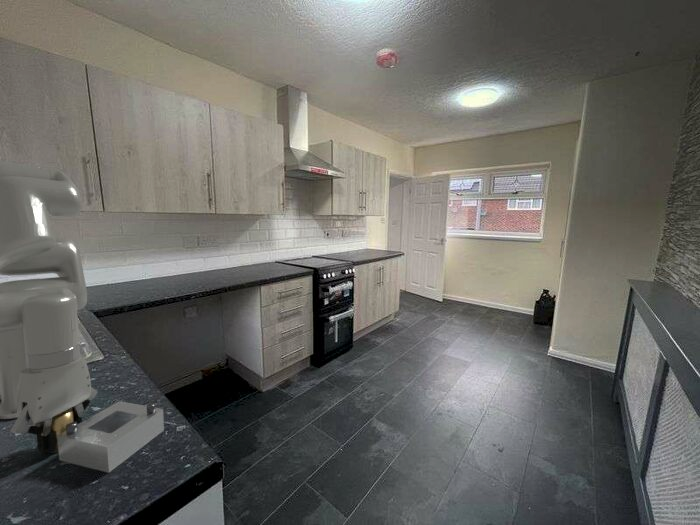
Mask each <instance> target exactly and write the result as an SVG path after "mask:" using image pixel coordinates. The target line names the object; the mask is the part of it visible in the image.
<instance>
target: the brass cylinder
mask: <svg viewBox="0 0 700 525" xmlns="http://www.w3.org/2000/svg"><path fill="white" fill-rule="evenodd" d="M71 422H74V418H73V409H72V408H70V409H68V410H66V411H64V412H62V413H60V414H58V415H56V416H54V417H52V423H51V430H50V432H54V436H55V448H56V450H55V451H54V452H52V453H51V454H55V453H59V451H58V440H57V436H58V435H60V434H61V433H63V432H65V431H66V425H67V424H69V423H71Z"/></svg>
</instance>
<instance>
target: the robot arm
mask: <svg viewBox="0 0 700 525" xmlns="http://www.w3.org/2000/svg"><path fill="white" fill-rule="evenodd" d="M82 207H83V200H82V196H81V193H80V191H79V188H78V187H77V186H76V185H75V183H74V182H73V180H71V179H70V177H69V176H68V175H67V174H66V173H65V172H63V171H62V170H59V169H55V168H51V167H45V166H38V165H29V164H24V163H18V162H10V161H2V160H0V275H1V276H9V277H10V276H14V277H15V276H28V275H29V276H30V275H42V274H56V275H57V277H45V278H33V279H32V278H29V279H19V280H16V279H15V280H9V281H6V282H5V281H4V282H0V399H1V402H0V420H10V419H16V420H15V422H14V424H13V425H12V428H11V429H10V433H13V434H15V435H19V434H21V435H22V434H23V435H25V434H33V435H36V443H37V449H38V451H40V452H43V453H48V454H53V453H52V452H54V451H55V450H56V448H55V436H54V432H50V430H51V423H52V417H54V416H56V415H58V414H60V413H62V412H64V411H66V410H68V409H70V408H72V409H73V418H74V422H77V425H78V424H79V423H81V422H83V419H82V417H83V416H84V415H85V414H86V409H87V407H88V406H89V404H90V403H91V401H92V400H94V398H95V397H96V396H97V395H98V393H99V392H98V390H97V389H96V388H94V387H93V386H92V384H91V377H90V376H91V375H90V371H89V367H88V364H87V361H86V359H85V357H84V355H83V354H81V353H82V351H81V350H82V349H84V348H86V343H85V342H84V341H80V334H79V332H80V330H79V320H78V319H79V318H78V310H83V309H84V307H85V306H86V305H87V303H88V291H87V285H86V279H85V273H84V269H83V268H84V267H83V261H82V258H81V257H82V256H81V253H80V249H79V247H78V245H77V243H76V242H75V241H73V240H72V239H70V238H67V237H63V236H56V235H55V231H54V228H53V222H52V218H51V217H63V218H64V217H66V218H71V217H72V218H73V217H76V216H79V214H80V213H81V212H82ZM30 420H31V421H32V423H33V424H28V423H29V422H30Z"/></svg>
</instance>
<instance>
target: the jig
mask: <svg viewBox="0 0 700 525" xmlns="http://www.w3.org/2000/svg"><path fill="white" fill-rule="evenodd" d="M156 406H157V405H156V403H155V402H150V403H148V404H146V405H143V404H137V403H132V402H127V401H121V400H119V401H117V402H115V403H114V404H112V405H110V406H107V407H106V408H104V409H102V410H101V411H99V412H97V413H96V414H94V415H92V416H90V417H88V418H86V419H85V420H82V422H81V423H79V424H78V425H77V422H71V423H69V424H67V425H66V431H65V432H63V433H61V434H60V435H58V436H57V440H58V451H59V452H58V461H61V462H65V463H69V464H73V465H77V466H80V467H84V468H89V469H93V470H96V471H100V472H104V473H108V474H109V473H111V472H112V471H113V470H114V469H115V468H117V467H119V466H120V465H121V464H123V463H124V462H125V461H126V460H128V459H129V458H131V457H132V456H133V455H134V454H135V453H137V451H139V450H141V449H142V448H144V446H146V445H147V444H148V443H150V442H151V441H152V440H153V439H155V438H156V437H157V436H158V435H161V433H163V432H164V431H165V424H164V422H165V421H164V409H163V408H161V407H156Z"/></svg>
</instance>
